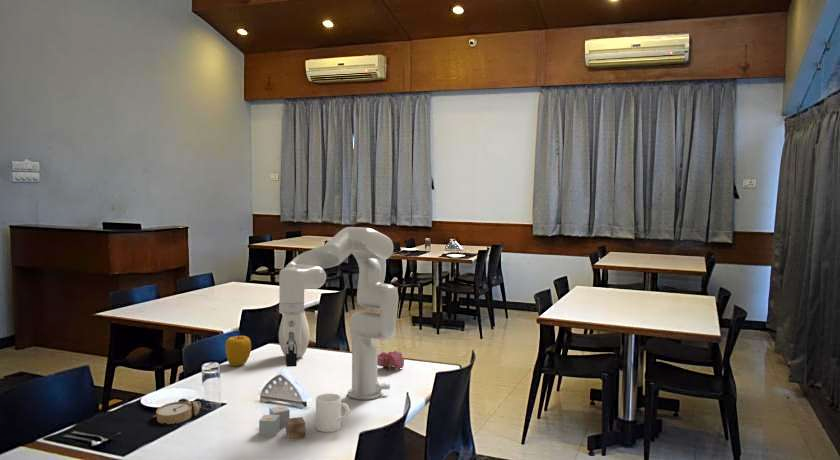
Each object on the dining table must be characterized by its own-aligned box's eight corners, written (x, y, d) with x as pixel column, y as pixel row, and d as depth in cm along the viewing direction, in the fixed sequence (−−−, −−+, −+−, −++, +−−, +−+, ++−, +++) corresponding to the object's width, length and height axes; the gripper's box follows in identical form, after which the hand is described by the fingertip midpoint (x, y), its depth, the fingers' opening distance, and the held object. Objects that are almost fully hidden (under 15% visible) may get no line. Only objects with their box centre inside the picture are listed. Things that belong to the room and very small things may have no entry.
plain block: (302, 432, 192) (302, 416, 191) (305, 438, 187) (305, 422, 187) (286, 434, 190) (286, 418, 189) (289, 440, 185) (289, 424, 185)
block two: (284, 420, 201) (284, 405, 201) (289, 425, 197) (289, 409, 197) (269, 423, 199) (269, 407, 198) (274, 428, 195) (274, 412, 194)
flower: (381, 373, 264) (390, 352, 268) (399, 379, 259) (408, 358, 263) (368, 363, 256) (378, 342, 260) (386, 370, 250) (396, 348, 254)
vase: (273, 360, 271) (273, 294, 269) (285, 352, 284) (285, 289, 282) (303, 362, 268) (303, 295, 266) (313, 354, 282) (313, 290, 280)
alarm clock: (148, 411, 200) (187, 391, 212) (151, 424, 201) (190, 404, 213) (168, 419, 194) (207, 398, 206) (170, 432, 195) (209, 411, 207)
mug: (342, 436, 189) (342, 405, 188) (310, 429, 194) (310, 399, 193) (355, 427, 196) (356, 397, 195) (324, 420, 201) (324, 392, 200)
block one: (279, 430, 193) (279, 414, 193) (275, 436, 188) (275, 420, 188) (264, 429, 193) (264, 414, 193) (259, 436, 188) (259, 420, 188)
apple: (246, 368, 258) (246, 339, 257) (221, 368, 258) (221, 338, 257) (254, 361, 269) (254, 332, 268) (230, 361, 269) (229, 332, 268)
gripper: (304, 312, 180) (303, 369, 181) (303, 302, 197) (303, 354, 198) (278, 313, 178) (278, 370, 179) (280, 302, 195) (279, 355, 196)
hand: (291, 361), depth 188 cm, fingers open, 9 cm apart
